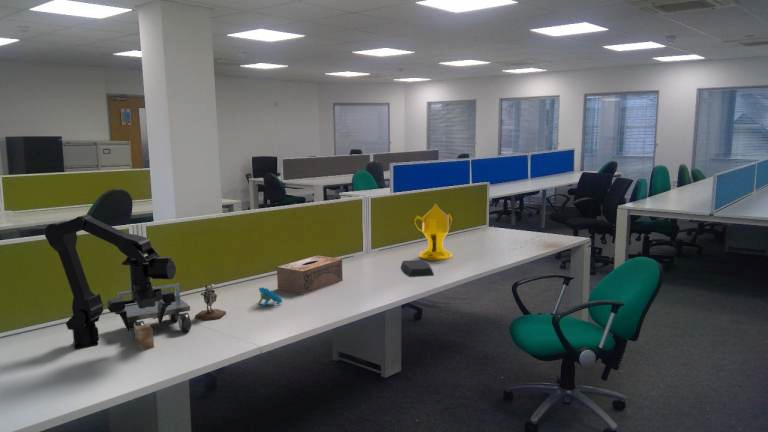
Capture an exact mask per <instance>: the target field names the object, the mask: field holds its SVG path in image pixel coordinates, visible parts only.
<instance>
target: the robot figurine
mask: <svg viewBox="0 0 768 432" xmlns="http://www.w3.org/2000/svg"><path fill="white" fill-rule="evenodd" d="M214 286H215V285H214V284H213V283H212V284H211V285H210V286H209V287H208V285H205V286H204V288H205V291H203V292H200V295H201V296H203V301H204V303H205V304H206V310H201V311H199V312H197V314H195V315H194V318H195V319H197V320H200V321H203V322H206V321H213V320H214V319H215V320H220V319H222V318H223V317H224V316H225V315H227V312H226V311H225V310H221V309H218V308H212V305H213V304H214V303H215V302H216V301H217V297H218V294H216V293H215V289H214V288H213V287H214Z"/></svg>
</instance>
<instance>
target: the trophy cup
mask: <svg viewBox="0 0 768 432" xmlns="http://www.w3.org/2000/svg"><path fill="white" fill-rule="evenodd" d="M417 220H420V221H422V226H421V228H422V229H421V228H419V227H418V225H417V223H416V221H417ZM413 221H414V225H415V227H416V229H418V231H420V232H421V233H423V235H424V236H425V238H426V240H427V247H426V248H425V249H423V250H420V252H419V253H418V257H419V258H420V259H421V260H427V261H440V260H441V261H442V260H448V259H451V258H452V256H453V251H450V250H449V249H446V248H445V246H444V239H445V237H446V236H447V235H448V233H449V230H451V226H452V222H453V217H452V216H451V214H450V213H448V214H447V213H445V212H444V211H443V210H442V209H441V208H439V206H438V203H434V205H433V206H432V208H431V209H429V210H428V211H427V212H426V213H424V215H423V216H420V215H416V216H415V218H414V220H413Z"/></svg>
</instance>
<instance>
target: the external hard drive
mask: <svg viewBox="0 0 768 432" xmlns="http://www.w3.org/2000/svg"><path fill="white" fill-rule="evenodd" d="M400 268H401V270H402V272H403V273H404V274H405V275H406V276H408V277H409V278H410V277H425V276H426V277H427V276H435V274H434V271H433V269H432V266H431V264H430V263H429V262H427V261H426V260H425V259H414V260H413V259H412V260H402V262H401V265H400Z"/></svg>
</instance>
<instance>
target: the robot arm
mask: <svg viewBox="0 0 768 432" xmlns="http://www.w3.org/2000/svg"><path fill="white" fill-rule="evenodd" d="M81 231H83V232H85V233H88V234H89V235H92V236H95V237H96V238H99V239H100V240H103V241H104V242H107V243H109V244H111V245H113V246H115V247H116V248H117V250H119V252H120V253H122V254H123V255H124V256H126V259H125V260H123V261H122V263H121V265H122V266H129V267H128V268H129V278H130V279H129V280H130V291H131V294H130V295H131V299H126V300H125V299H122V298H118V297H117V298H111V299H108V301H107V302H106V303H107V309H108V311H109V312H110V313H114V314H115V315H119V316H120V318H121V320H122V321H123V324H124V327H125V328H126V331H127V332H130V329H129V324H128V319H127V312H126V310H125V307H126V306H132V305H138V307H139V308H140V309H143V308H146V307H154V306H155V305H156V301H158V317H157V321H158V322H157V323H158V325H159V326H161V325H162V322H163V319H164V317H165V315H164V312H165V310H166V308H167V307H168V306H169V305H171V304H172V302H175V301H176V295H175V292H173V291H172V290H171V289H167V290H162V289H154V290H153V289H152V287H153V286H152V285H153V284H152V280H173V279H174V278H175V276H176V273H177V266H176V265H175V262H174V261H173V260H172V256H165V257H163V256H160V254H159V253H158V251H156V249H155V248H154V247H153V245H152V244H151V240H150V239H149V238H147V237H146V236H142V235H138V234H132V233H127V232H124V231H121V230H120V229H117V228H115V227H113V226H111V225H109V224H106V223H104V222H103V221H100V220H98V219H96V218H93V217H92V215H89V214H85V215H84V214H83V215H80V216H76V217H75V218H73V219H70V220H62V221H59V222H53V223H50V224H48V225H47V226H46V227H45V230H44V232H43V234H44V236H45V239H46V241H47V242H48V245H49V246H50V247H51V248H52V249H54V251H56V252H57V254H58V257H59V259H60V260H59V261H60V263H61V264H62V268H63V270H64V273H65V277H66V279H67V283H68V285H69V287H70V290H71V293H72V296H73V297H72V298H73V299H72V303H71V310H72V311H71V312H72V316H71V317H70V318H69V319H68V320H67V321H66V323H65V324H66V327H67V329H68V330H72V332H71V333H72V345H73V348H74V349H75V350H77V349H82V348H88V347H92V346H97V345H99V341H100V337H99V328H98V327H97V326H96V322H99V321H100V317H101V315H102V314H103V312H104V306H105V304H104V303H103V301H102V297H101V295H100V294H99V293H97V294H94V292H92V291H91V289H90V286H89V283H88V279H87V277H86V274H85V272H84V268H83V266H82V263H81V259H80V256H79V254H78V251H77V247H76V246H77V241H78V235H77V233H78V232H81Z"/></svg>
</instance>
